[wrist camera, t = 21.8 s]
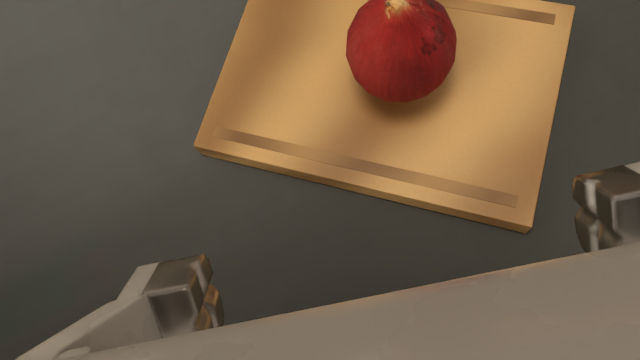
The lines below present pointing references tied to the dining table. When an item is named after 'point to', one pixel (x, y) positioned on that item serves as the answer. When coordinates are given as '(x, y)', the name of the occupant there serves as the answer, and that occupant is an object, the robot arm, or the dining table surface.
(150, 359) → the robot arm
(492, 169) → the cutting board
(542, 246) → the dining table surface
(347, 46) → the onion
